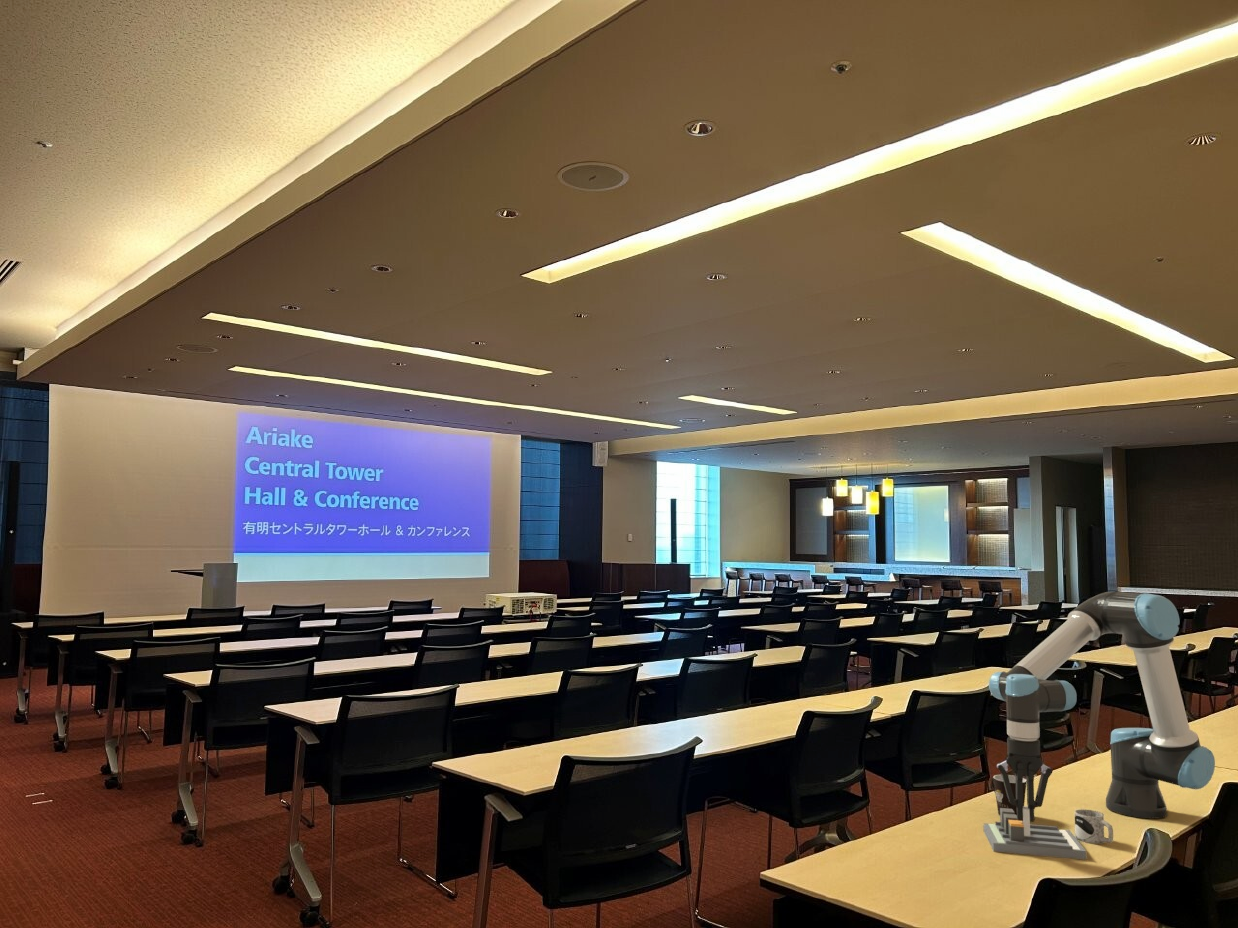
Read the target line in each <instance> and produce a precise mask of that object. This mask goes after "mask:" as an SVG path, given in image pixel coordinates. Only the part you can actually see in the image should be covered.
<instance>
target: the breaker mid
mask: <svg viewBox="0 0 1238 928" xmlns="http://www.w3.org/2000/svg"><path fill="white" fill-rule="evenodd" d="M1003 818H1004V833H1005V834H1009V825H1008V820H1018V818H1017V815H1015V814H1003Z"/></svg>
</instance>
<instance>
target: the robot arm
mask: <svg viewBox="0 0 1238 928" xmlns="http://www.w3.org/2000/svg"><path fill="white" fill-rule="evenodd" d="M1179 625H1180V616H1179V611H1178V610H1177V608H1176V606H1175V604H1174V603H1173V602H1172V601H1171V600H1170V599H1169V598H1166V597H1165V596H1162V595H1159V594H1153V593H1150V592H1149V593H1147V592H1144V593H1141V592H1126V591H1125V592H1123V591H1115V590H1114V591H1106V592H1105V591H1104V592H1101V593H1099V594H1097V595H1095V596H1092V597H1090V598H1088V599H1087V600H1085V601H1083V602H1082V603H1080V604H1079V605H1077V606H1076V607H1075V608H1074V609H1072V610H1071V611H1070V612H1069V613H1068V615H1067V620H1066V621H1065V622H1063V624H1061V625H1060V626H1059V627H1057V628H1056V630H1054V631H1053V632H1052V633H1050V634H1049V636H1047V637H1046V638H1045V639H1044V640H1042V641H1041V642H1040V643H1039V644H1038V645H1037V646H1036V647H1035V648H1034V649H1032V650H1031V651H1030V652H1029V653H1027V655H1025V657H1023V658H1022V659H1021V660H1020V661H1019V662H1018V663H1016V664H1015V665H1014V666H1013V667H1012V668H1011V669H1010V670H1009V671H1007V672H1006V671H995V672H994V673H993V674H992V675H991V676H990V678H989V679H988V689H989V691H990V694H991V696H993V697H994V698H996V699H997V700H1000V701H1004V702H1005V704H1006V705H1005V706H1006V734H1007V735H1008V737H1007V739H1006V743H1007V745H1006V748H1007V749H1006V750H1007V755H1006V757H1005V760H1004V761H1002V762H998V763H996V765H995V766H996V768H997V769H998V771H999V772H1000V775H1002V778H1003V782H1004V786H1005V789H1006V793H1007V797H1008V800H1009V802H1010V803H1011V804H1012V805H1015V806H1016V807H1017V818H1018V820H1019V821H1022V823H1023V824H1024V836H1030V824H1031V822H1032V823H1033V822H1035V809H1036V808H1041V807H1042V806H1043V802H1044V799H1045V793H1046V790H1047V786H1048V781H1049V778H1050V776H1051V775H1052V773H1053V769H1052V768H1051V766H1049V765H1048V766H1047V765H1046V764H1045V763H1043V762H1044V761H1043V760H1042V757H1041V742H1040V739H1039V738H1040V736H1041V735H1040V734H1041V733H1040V731H1041V730H1040V729H1041V728H1040V713H1047V712H1048V713H1049V712H1050V713H1051V712H1064V711H1068V710H1071V709H1073V708H1074V707H1075V705H1076V704H1077V696H1078V695H1077V691H1076V689H1075V687H1074V685H1072V684H1071V683H1069V682H1068V681H1066V680H1058V679H1054V680H1047V679H1049V677H1050V676H1051V675H1053V673H1055V671H1057V670H1058V669H1059V668H1060V667H1061V666H1062V665H1063V664H1065V662H1067V661H1068V660H1069V659H1071V657H1072V656H1073V655H1075V654H1076V653H1077V652H1078V651H1079V650H1080V649H1081V648H1082V647H1084V646H1085V645H1086V644H1087V643H1088V642H1089V641H1095V640H1098V639H1099V638H1100V637H1102V636H1103V635H1105V634H1106V635H1107V634H1118V635H1122V636H1123V639H1124V644H1125V646H1126V647H1127V648H1129V649H1130V650H1132V651H1133V654H1134V658H1135V662H1136V665H1137V670H1138V674H1139V677H1140V678H1139V679H1140V681H1141V685H1142V689H1143V693H1144V697H1145V703H1146V705H1147V710H1148V713H1149V718H1150V721H1151V726H1152V728H1148V727H1146V728H1145V727H1121V728H1115V729H1113V730H1112V731H1111V732H1110V743H1109V745H1110V764H1111V782H1110V785H1109V788H1108V792H1107V794H1106V798H1105V807H1106V808H1107V809H1108V811H1109V810H1110V811H1111V812H1114V813H1117V814H1120V815H1124V816H1128V817H1134V818H1142V819H1162V818H1166V817H1167V815H1168V808H1167V804H1166V801H1165V799H1164V797H1163V794H1162V791H1161V789H1160V786H1159V781H1161V782H1164V783H1168V784H1171V785H1174V786H1178V787H1180V788H1185V789H1192V790H1199V789H1200V790H1201V789H1203V788H1204V787H1206V786H1207V785H1208V784H1209V783H1210V781H1211V780H1212V778H1213V776H1214V773H1215V768H1216V759H1215V755H1214V753H1213V751H1211V750H1210V749H1209V748H1208V747H1206V746H1204V745H1201V742H1200V739H1199V735H1198V733H1196V732H1195V731H1193V730H1192V729H1190V725H1189V722H1188V717H1187V713H1186V710H1185V705H1184V700H1183V696H1182V693H1181V689H1180V684H1179V681H1178V677H1177V673H1176V669H1175V665H1174V661H1173V658H1172V653H1171V649H1170V646H1171V645H1172V644H1173V643H1174V641H1175V640H1174V637H1175V636H1176V635H1177V634H1178V633H1179V629H1180V627H1179ZM1008 767H1009V768H1010V769H1011V770H1012V772H1013V773H1014V776H1015V779H1016V799H1014V796H1013V792H1012V789H1011V785H1010V781H1009V778H1008V775H1009V774H1008V773H1007V771H1009V769H1008ZM1039 770H1040V776H1039V781H1038V787H1037V789H1036V790H1037V791H1036V794H1035V788H1034V787H1035V783H1034V781H1035V776H1036V774H1037V772H1038V771H1039ZM1024 777H1025V779H1026V804H1027V805H1024V806H1023V778H1024Z"/></svg>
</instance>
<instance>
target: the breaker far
mask: <svg viewBox="0 0 1238 928" xmlns="http://www.w3.org/2000/svg"><path fill="white" fill-rule="evenodd" d="M1003 814H1015V812H1014V811H1013V809H1008V808H1000V815H999V816H1000V817H999V819H1000V820H999V822H1000V826H1001V828H1004V818H1003Z"/></svg>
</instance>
